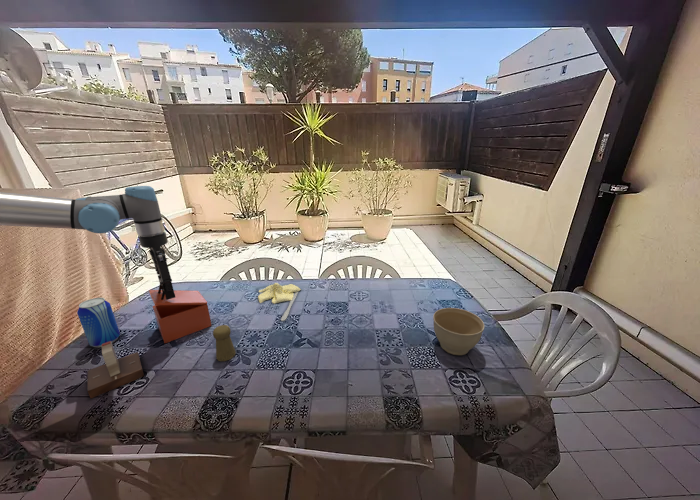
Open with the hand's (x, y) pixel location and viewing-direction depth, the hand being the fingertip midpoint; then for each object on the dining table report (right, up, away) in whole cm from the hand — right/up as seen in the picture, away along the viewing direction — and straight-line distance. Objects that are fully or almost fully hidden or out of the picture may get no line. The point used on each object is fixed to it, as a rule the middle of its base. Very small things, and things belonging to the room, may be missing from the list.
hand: (168, 294), depth 98 cm
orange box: (+2, -14, +7) cm, 16 cm away
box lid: (+2, -2, +3) cm, 4 cm away
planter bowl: (+102, -18, -3) cm, 104 cm away
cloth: (+30, -5, +32) cm, 44 cm away
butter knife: (+39, -8, +23) cm, 46 cm away
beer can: (-22, -17, -1) cm, 27 cm away
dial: (-4, -19, -18) cm, 27 cm away
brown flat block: (-4, -22, -17) cm, 28 cm away
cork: (+25, -19, -8) cm, 32 cm away
